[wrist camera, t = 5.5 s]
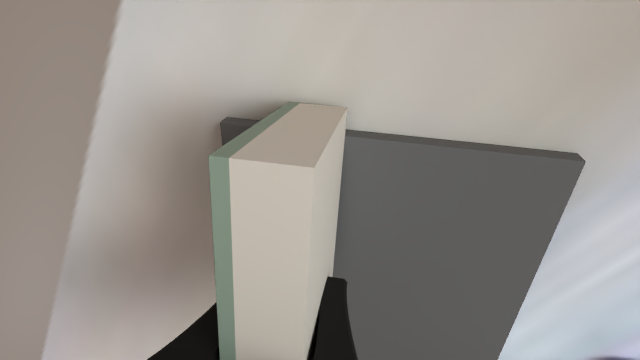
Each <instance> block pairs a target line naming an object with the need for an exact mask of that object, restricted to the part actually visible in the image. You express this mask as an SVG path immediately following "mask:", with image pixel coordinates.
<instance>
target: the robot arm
mask: <svg viewBox="0 0 640 360" xmlns="http://www.w3.org/2000/svg"><path fill="white" fill-rule="evenodd" d="M147 360H220V352H219V335H218V317H217V302H216V303H215V304H214V305H213V306H212V307H211V308H210V309H209V310H208V311H207V312H206V313H204V314H203V315H202V316H201V317H200V318H199V319H198V320H197V321H195V322H194V323H193V324H192V325H191V326H190V327H189V328H188V329H186V330H185V331H184V332H183V333H182V334H180V335H179V336H178V337H177V338H175V339H174V340H173V341H172V342H170V343H169V344H168V345H166V346H165V347H164V348H162V349H161V350H160V351H158V352H157V353H156V354H154V355H153V356H151V357H150V358H148V359H147ZM314 360H358V358H357V354H356V350H355V346H354V341H353V337H352V332H351V326H350V321H349V314H348V306H347V281H346V280H345V279H342V278H336V277H329V276H327V280H326V283H325V287H324V290H323V294H322V298H321V306H320V315H319V324H318V332H317V341H316V348H315V354H314Z"/></svg>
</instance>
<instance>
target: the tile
mask: <svg viewBox="0 0 640 360" xmlns="http://www.w3.org/2000/svg"><path fill="white" fill-rule="evenodd" d="M346 118H347V107H337V106H326V105H315V104H304V103H293V102H288V103H286V104H285V105H283V106H282V107H280V108H279V109H277V110H276V111H274V112H273V113H271V114H270V115H268V116H267V117H265V118H264V119H262V120H261V121H259V122H258V123H256V124H255V125H253V126H252V127H250V128H249V129H247V130H246V131H244V132H243V133H241V134H240V135H238V136H237V137H235V138H234V139H232V140H231V141H229V142H228V143H227V144H225V145H224V146H222V147H221V148H219V149H218V150H216V151H215V152H213V153H212V154H210V155H209V156H208V158H209V176H210V193H211V211H212V229H213V246H214V264H215V282H216V299H217V317H218V335H219V352H220V360H314V354H315V348H316V341H317V332H318V324H319V315H320V306H321V298H322V294H323V290H324V287H325V283H326V280H327V276H329V277H332V276H333V264H334V253H335V242H336V231H337V219H338V208H339V197H340V186H341V174H342V163H343V152H344V141H345V129H346Z"/></svg>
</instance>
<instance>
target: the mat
mask: <svg viewBox="0 0 640 360" xmlns="http://www.w3.org/2000/svg"><path fill="white" fill-rule="evenodd" d="M258 122H259V121H257V120H248V119H238V118H228V117H227V118H226V119H224V120H223V121H222V122H221V123H220V125H221V135H222V145H223V146H224V145H225V144H227V143H228V142H229V141H231V140H232V139H234V138H235V137H237V136H238V135H240V134H241V133H243V132H244V131H246V130H247V129H249V128H250V127H252V126H253V125H255V124H256V123H258ZM585 162H586V161H585V160H584V159H583V158H582V157H581V156H580V155H579V154H577V153H568V152H558V151H548V150H539V149H529V148H519V147H509V146H500V145H490V144H480V143H471V142H461V141H451V140H442V139H432V138H422V137H413V136H403V135H393V134H383V133H374V132H364V131H354V130H345V141H344V152H343V163H342V174H341V186H340V197H339V208H338V219H337V231H336V242H335V253H334V264H333V276H332V277H336V278H342V279H345V280H346V281H347V306H348V314H349V321H350V326H351V332H352V337H353V341H354V346H355V350H356V354H357V358H358V360H497V359H498V357H499V355H500V353H501V351H502V348H503V346H504V344H505V342H506V339H507V337H508V335H509V333H510V330H511V328H512V326H513V324H514V321H515V319H516V317H517V315H518V312H519V310H520V308H521V306H522V303H523V301H524V299H525V297H526V294H527V292H528V290H529V288H530V286H531V283H532V281H533V279H534V277H535V274H536V272H537V270H538V268H539V265H540V263H541V261H542V259H543V256H544V254H545V252H546V250H547V247H548V245H549V243H550V241H551V238H552V236H553V234H554V232H555V229H556V227H557V225H558V223H559V221H560V218H561V216H562V214H563V212H564V209H565V207H566V205H567V203H568V200H569V198H570V196H571V194H572V191H573V189H574V187H575V185H576V182H577V180H578V178H579V176H580V173H581V171H582V169H583V167H584V164H585Z"/></svg>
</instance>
